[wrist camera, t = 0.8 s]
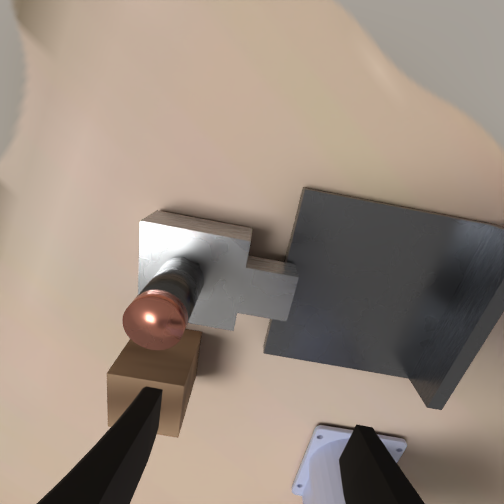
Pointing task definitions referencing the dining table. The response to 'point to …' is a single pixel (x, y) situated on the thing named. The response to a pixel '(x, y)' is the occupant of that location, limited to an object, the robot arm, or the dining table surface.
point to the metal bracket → (390, 291)
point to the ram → (201, 279)
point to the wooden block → (155, 379)
